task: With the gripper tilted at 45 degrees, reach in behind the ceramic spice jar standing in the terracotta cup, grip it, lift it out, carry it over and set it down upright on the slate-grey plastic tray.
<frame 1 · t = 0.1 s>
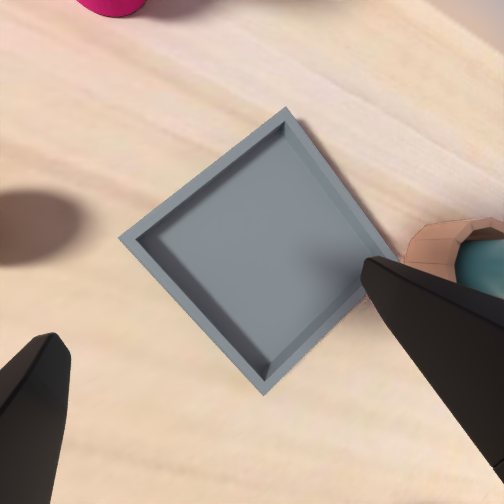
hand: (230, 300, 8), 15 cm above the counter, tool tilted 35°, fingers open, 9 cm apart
tray: (266, 250, 24), on the counter
spice jar: (445, 265, 27), point 1 cm above the counter, touching terracotta cup
terracotta cup: (440, 264, 28), on the counter
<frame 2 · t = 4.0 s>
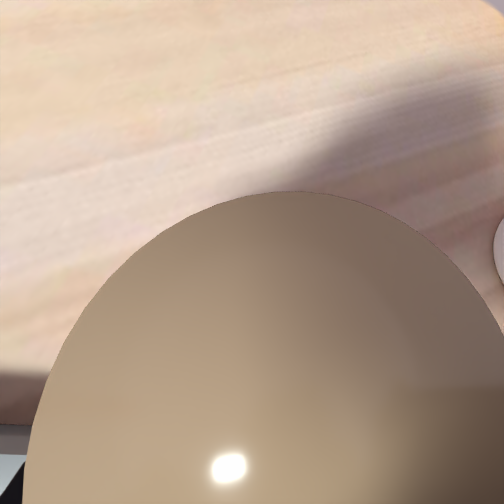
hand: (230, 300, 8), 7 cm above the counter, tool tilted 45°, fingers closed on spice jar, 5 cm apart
spice jar: (224, 330, 14), point 1 cm above the counter, touching gripper, terracotta cup
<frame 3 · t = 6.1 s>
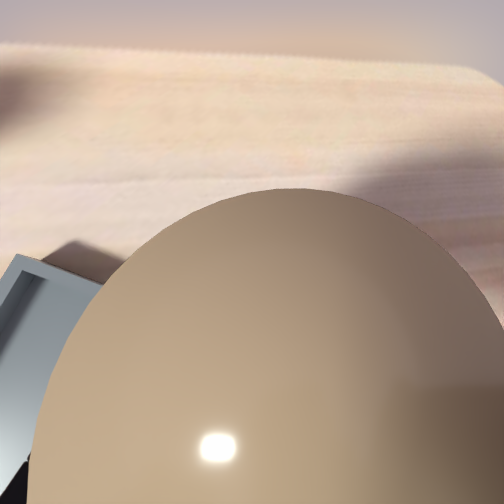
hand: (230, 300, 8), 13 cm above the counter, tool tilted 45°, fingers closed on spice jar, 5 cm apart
tray: (94, 414, 18), on the counter
spice jar: (224, 329, 14), point 7 cm above the counter, touching gripper
when the fingers open (9 cm above the counter, at t = 8.1 s): spice jar drops 1 cm, resting on tray.
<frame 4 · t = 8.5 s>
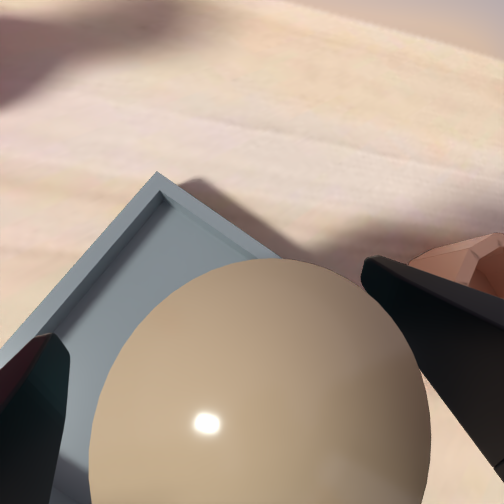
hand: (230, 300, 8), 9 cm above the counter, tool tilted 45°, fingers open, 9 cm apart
tray: (191, 372, 16), on the counter
spice jar: (222, 329, 15), point 1 cm above the counter, touching tray
terracotta cup: (451, 307, 19), on the counter
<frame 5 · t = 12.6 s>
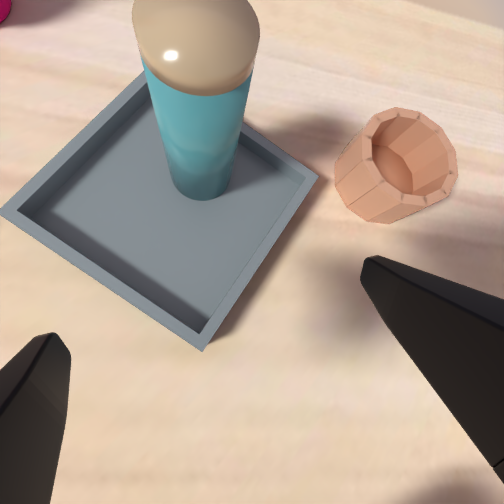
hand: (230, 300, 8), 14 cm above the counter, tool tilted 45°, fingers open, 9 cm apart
tray: (179, 204, 22), on the counter
spice jar: (201, 172, 22), point 1 cm above the counter, touching tray
terracotta cup: (376, 180, 26), on the counter
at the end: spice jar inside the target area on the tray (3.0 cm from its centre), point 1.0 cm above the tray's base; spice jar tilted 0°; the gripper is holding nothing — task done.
